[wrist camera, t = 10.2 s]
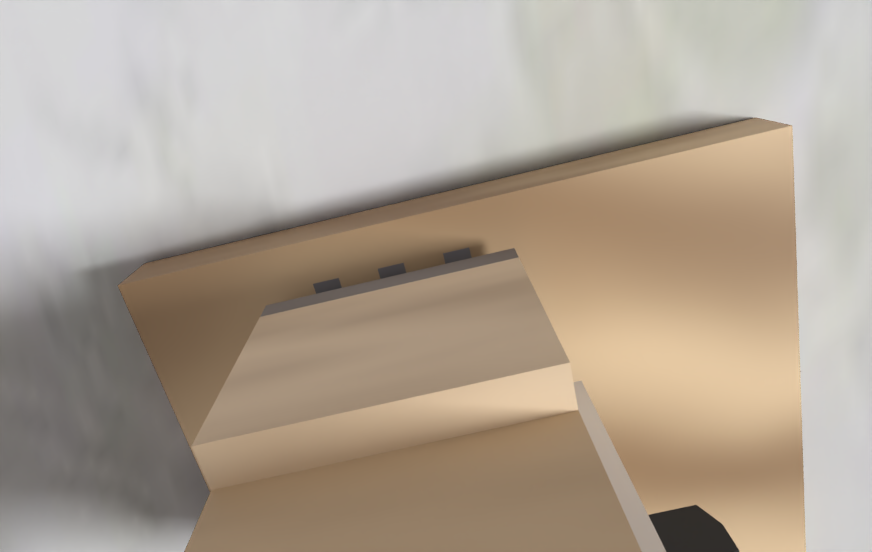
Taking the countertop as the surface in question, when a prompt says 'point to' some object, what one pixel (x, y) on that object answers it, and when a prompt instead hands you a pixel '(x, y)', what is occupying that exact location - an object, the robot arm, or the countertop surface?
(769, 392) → the board
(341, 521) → the block
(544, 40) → the countertop surface
